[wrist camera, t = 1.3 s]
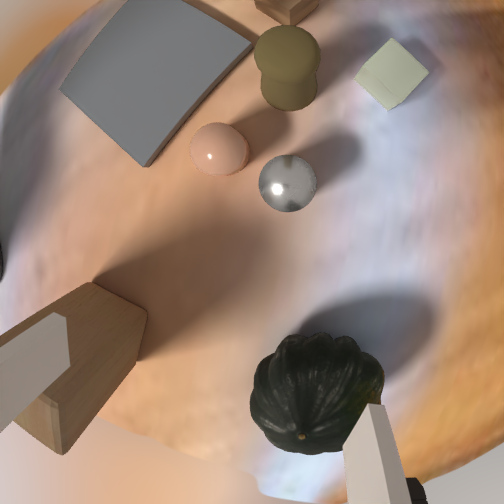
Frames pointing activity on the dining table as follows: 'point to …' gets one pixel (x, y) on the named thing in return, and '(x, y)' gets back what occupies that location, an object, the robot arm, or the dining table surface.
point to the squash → (314, 392)
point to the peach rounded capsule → (219, 150)
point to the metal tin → (287, 183)
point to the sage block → (390, 74)
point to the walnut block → (286, 9)
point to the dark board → (151, 72)
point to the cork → (288, 66)
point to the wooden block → (83, 362)
